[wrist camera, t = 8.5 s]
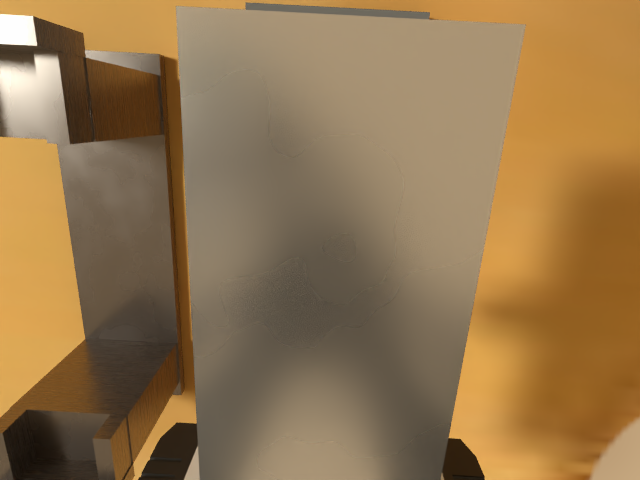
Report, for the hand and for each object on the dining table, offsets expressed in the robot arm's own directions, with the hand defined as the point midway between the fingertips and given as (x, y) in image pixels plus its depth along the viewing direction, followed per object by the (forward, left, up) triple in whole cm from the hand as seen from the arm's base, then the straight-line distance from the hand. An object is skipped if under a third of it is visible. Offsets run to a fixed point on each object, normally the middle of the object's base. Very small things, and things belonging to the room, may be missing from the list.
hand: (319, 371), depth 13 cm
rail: (0, 0, +2) cm, 2 cm away
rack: (0, -12, -11) cm, 17 cm away
